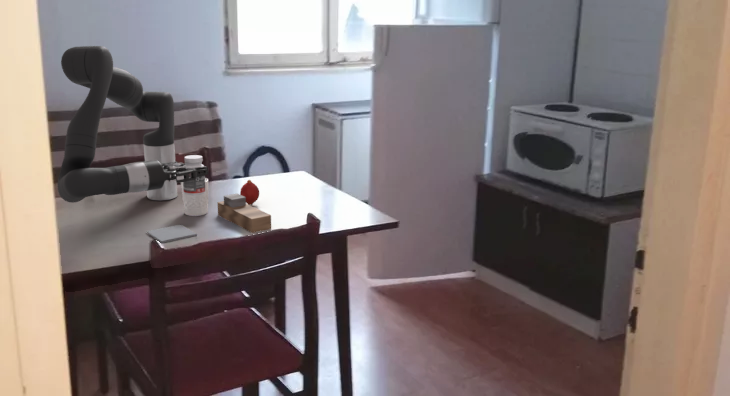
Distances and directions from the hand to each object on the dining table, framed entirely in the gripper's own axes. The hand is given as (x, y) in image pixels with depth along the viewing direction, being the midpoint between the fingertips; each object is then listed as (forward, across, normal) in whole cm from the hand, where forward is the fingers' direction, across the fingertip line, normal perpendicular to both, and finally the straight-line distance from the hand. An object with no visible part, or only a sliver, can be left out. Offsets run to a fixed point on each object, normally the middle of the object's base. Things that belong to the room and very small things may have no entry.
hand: (201, 168), depth 199 cm
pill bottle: (-2, 0, +7) cm, 7 cm away
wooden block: (+13, 0, +18) cm, 22 cm away
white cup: (+6, +17, +18) cm, 25 cm away
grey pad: (-8, +3, +18) cm, 20 cm away
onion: (+23, +14, +18) cm, 32 cm away
